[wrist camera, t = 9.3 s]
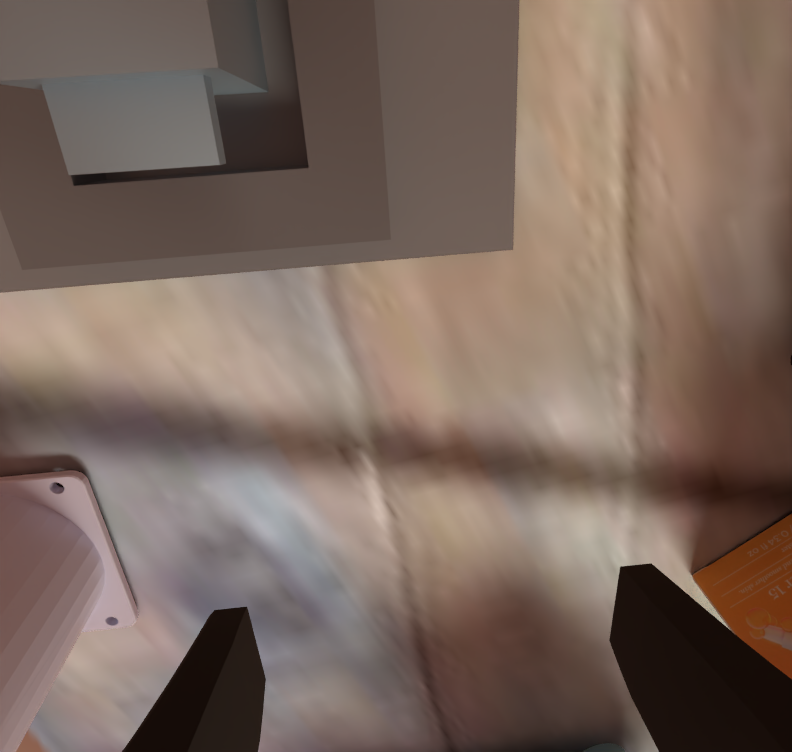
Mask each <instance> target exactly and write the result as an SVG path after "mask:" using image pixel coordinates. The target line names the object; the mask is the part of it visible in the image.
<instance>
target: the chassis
mask: <svg viewBox="0 0 792 752" xmlns="http://www.w3.org/2000/svg"><path fill="white" fill-rule="evenodd" d="M256 6H257V13H258V20H259V27H260V34H261V41H262V49H263V56H264V63H265V70H266V77H267V84H268V91H269V92H262V93H246V94H230V95H214V98H215V104H216V109H217V115H218V120H219V126H220V131H221V137H222V142H223V148H224V154H225V159H226V164H222V165H212V166H198V167H183V168H168V169H153V170H139V171H124V172H109V173H94V174H80V175H69V174H68V171H67V167H66V164H65V161H64V157H63V154H62V151H61V147H60V144H59V141H58V137H57V134H56V131H55V128H54V124H53V121H52V118H51V114H50V111H49V108H48V104H47V101H46V98H45V94H44V91H43V90H38V89H31V88H24V87H17V86H10V85H2V84H0V293H1V292H13V291H25V290H37V289H49V288H61V287H73V286H85V285H97V284H109V283H121V282H133V281H145V280H156V279H168V278H180V277H192V276H204V275H216V274H228V273H240V272H252V271H264V270H276V269H288V268H300V267H312V266H324V265H336V264H348V263H360V262H372V261H384V260H396V259H408V258H420V257H432V256H444V255H456V254H468V253H479V252H491V251H503V250H513V226H514V187H515V148H516V108H517V69H518V30H519V0H256Z"/></svg>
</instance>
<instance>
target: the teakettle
mask: <svg viewBox="0 0 792 752" xmlns="http://www.w3.org/2000/svg"><path fill="white" fill-rule="evenodd" d="M583 752H625V750H624V749H623V748H622V747H621V746H619V745H616V744H612V743H604V744H598V745H595V746H592V747H590V748H587V749H586V750H584V751H583Z"/></svg>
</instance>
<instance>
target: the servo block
mask: <svg viewBox="0 0 792 752" xmlns="http://www.w3.org/2000/svg"><path fill="white" fill-rule="evenodd" d="M0 84H2V85H10V86H17V87H24V88H31V89H38V90H43V91H44V94H45V98H46V101H47V104H48V108H49V111H50V114H51V118H52V121H53V124H54V128H55V131H56V134H57V137H58V141H59V144H60V147H61V151H62V154H63V157H64V161H65V164H66V167H67V171H68V174H69V175H80V174H94V173H109V172H124V171H139V170H153V169H168V168H183V167H198V166H212V165H222V164H226V159H225V154H224V148H223V142H222V137H221V131H220V126H219V120H218V115H217V109H216V104H215V98H214V95H230V94H246V93H262V92H269V91H268V84H267V77H266V70H265V63H264V56H263V49H262V41H261V34H260V27H259V20H258V13H257V6H256V0H0Z"/></svg>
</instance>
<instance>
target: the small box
mask: <svg viewBox="0 0 792 752" xmlns="http://www.w3.org/2000/svg"><path fill="white" fill-rule="evenodd" d="M692 577H693V580H694V581H695V583H696V584H697V585H698V587H699V588H700V590H701V591H702V592H703V594H704V595H705V596H706V598H707V599H708V600H709V602H710V603H711V604H712V606H713V607H714V608H715V610H716V611H717V613H718V614H719V615H720V617H721V618H722V619H723V621H724V622H725V623H726V625H727V626H728V627H729V629H730V630H731V631H732V632H733V633H734V634H735V635H737V636H738V637H739V638H740V639H742V640H743V641H744V642H745V643H747V644H748V645H749V646H750V647H751V648H753V649H754V650H755V651H756V652H758V653H759V654H760V655H761V656H763V657H764V658H765V659H766V660H768V661H769V662H770V663H771V664H773V665H774V666H775V667H777V668H778V669H779V670H780V671H782V672H783V673H784V674H786V675H787V676H788V677H789V678H791V679H792V514H790V515H789V516H787V517H785V518H784V519H782V520H781V521H779V522H778V523H776V524H775V525H773V526H771V527H770V528H768V529H767V530H765V531H764V532H762V533H760V534H759V535H757V536H756V537H754V538H753V539H751V540H749V541H748V542H746V543H745V544H743V545H741V546H740V547H738V548H737V549H735V550H733V551H732V552H730V553H729V554H727V555H725V556H724V557H722V558H721V559H719V560H717V561H716V562H714V563H713V564H711V565H709V566H707V567H704V568H702V569H700V570H699V571H697V572H696V573H694V574H693V575H692Z"/></svg>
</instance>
